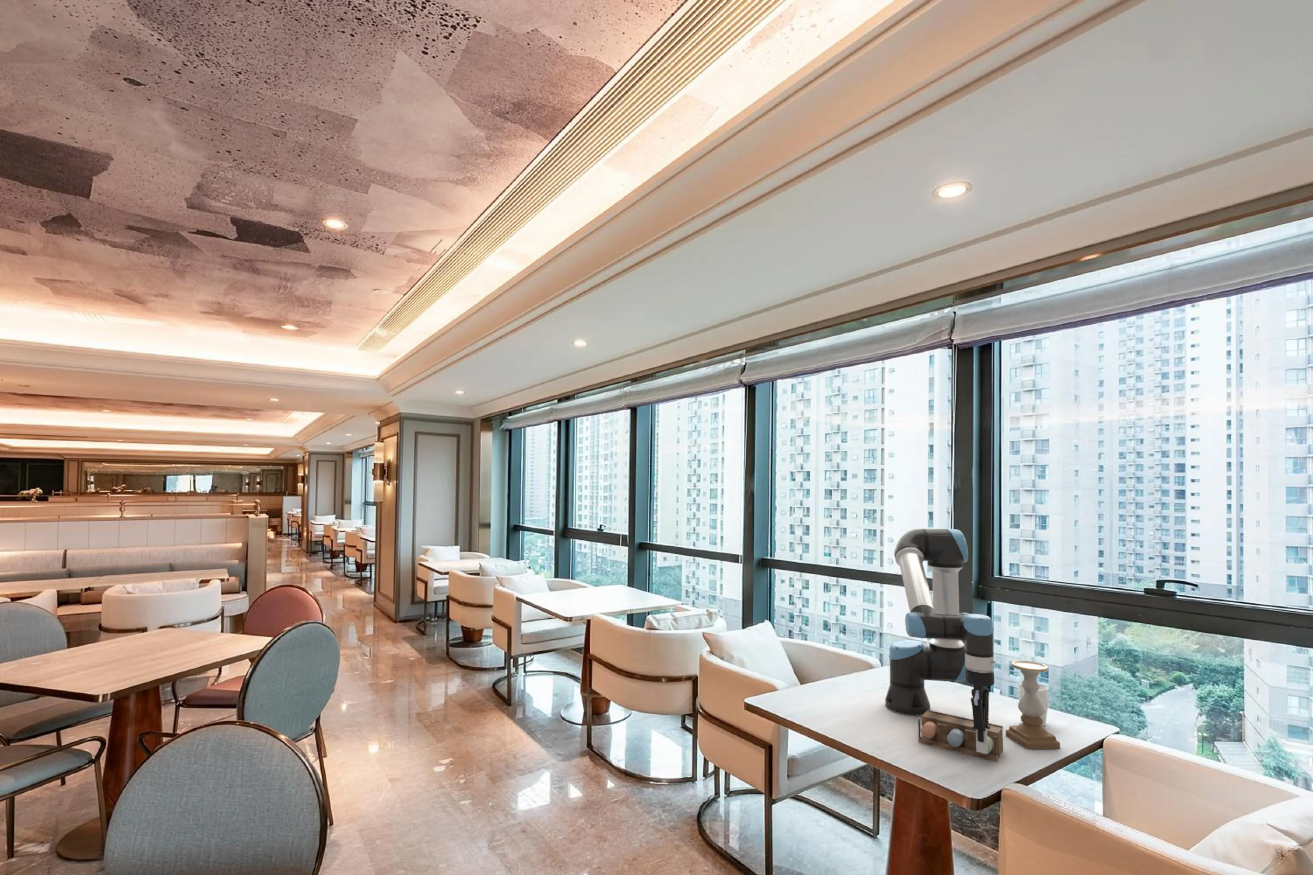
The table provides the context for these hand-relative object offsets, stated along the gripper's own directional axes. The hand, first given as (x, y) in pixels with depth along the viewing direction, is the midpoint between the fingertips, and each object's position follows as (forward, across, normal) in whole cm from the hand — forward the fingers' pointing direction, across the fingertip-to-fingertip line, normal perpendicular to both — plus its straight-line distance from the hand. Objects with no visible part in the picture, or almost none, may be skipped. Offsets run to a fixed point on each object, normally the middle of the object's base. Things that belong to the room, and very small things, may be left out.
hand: (982, 751), depth 184 cm
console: (+3, +9, +8) cm, 12 cm away
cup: (+4, +46, -7) cm, 46 cm away
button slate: (+1, +4, +8) cm, 9 cm away
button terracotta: (+1, +5, +16) cm, 17 cm away
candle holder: (+4, +27, -9) cm, 28 cm away
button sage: (+1, +4, 0) cm, 4 cm away
